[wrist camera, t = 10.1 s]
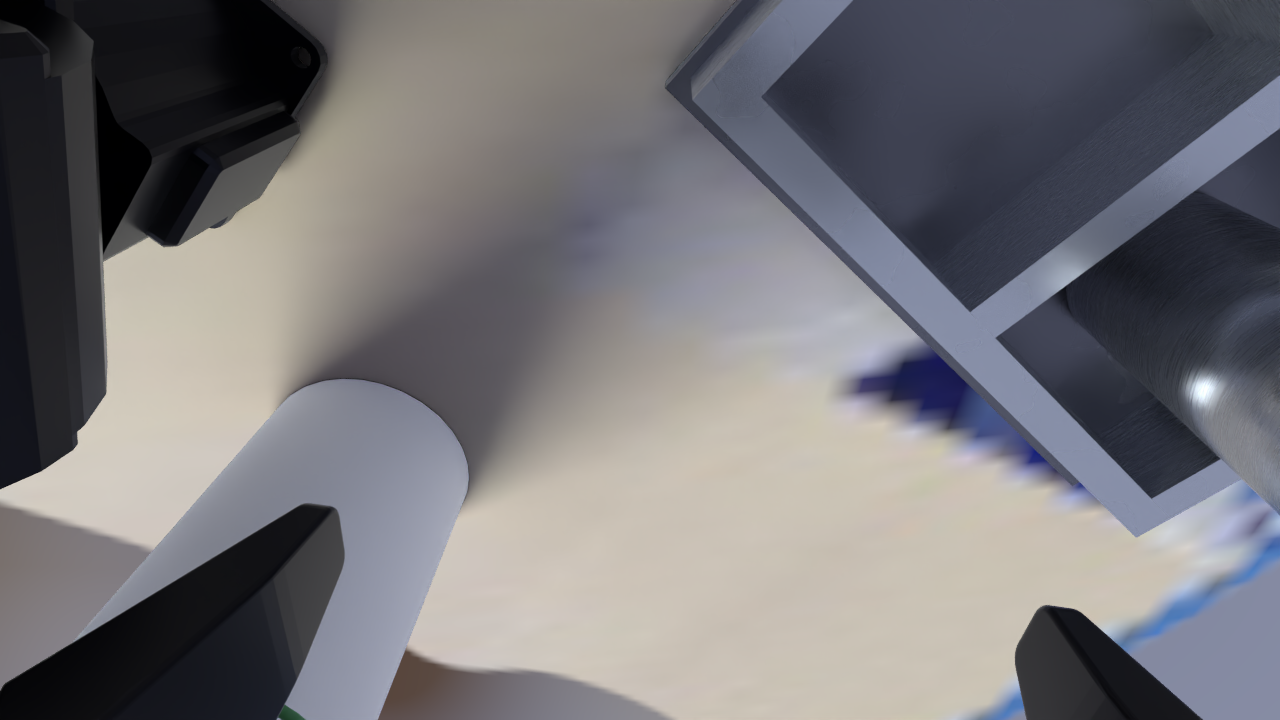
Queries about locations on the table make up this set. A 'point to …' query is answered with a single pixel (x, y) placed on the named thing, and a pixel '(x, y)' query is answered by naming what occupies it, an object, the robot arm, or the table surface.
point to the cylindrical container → (370, 521)
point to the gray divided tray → (1008, 183)
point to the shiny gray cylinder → (1199, 327)
